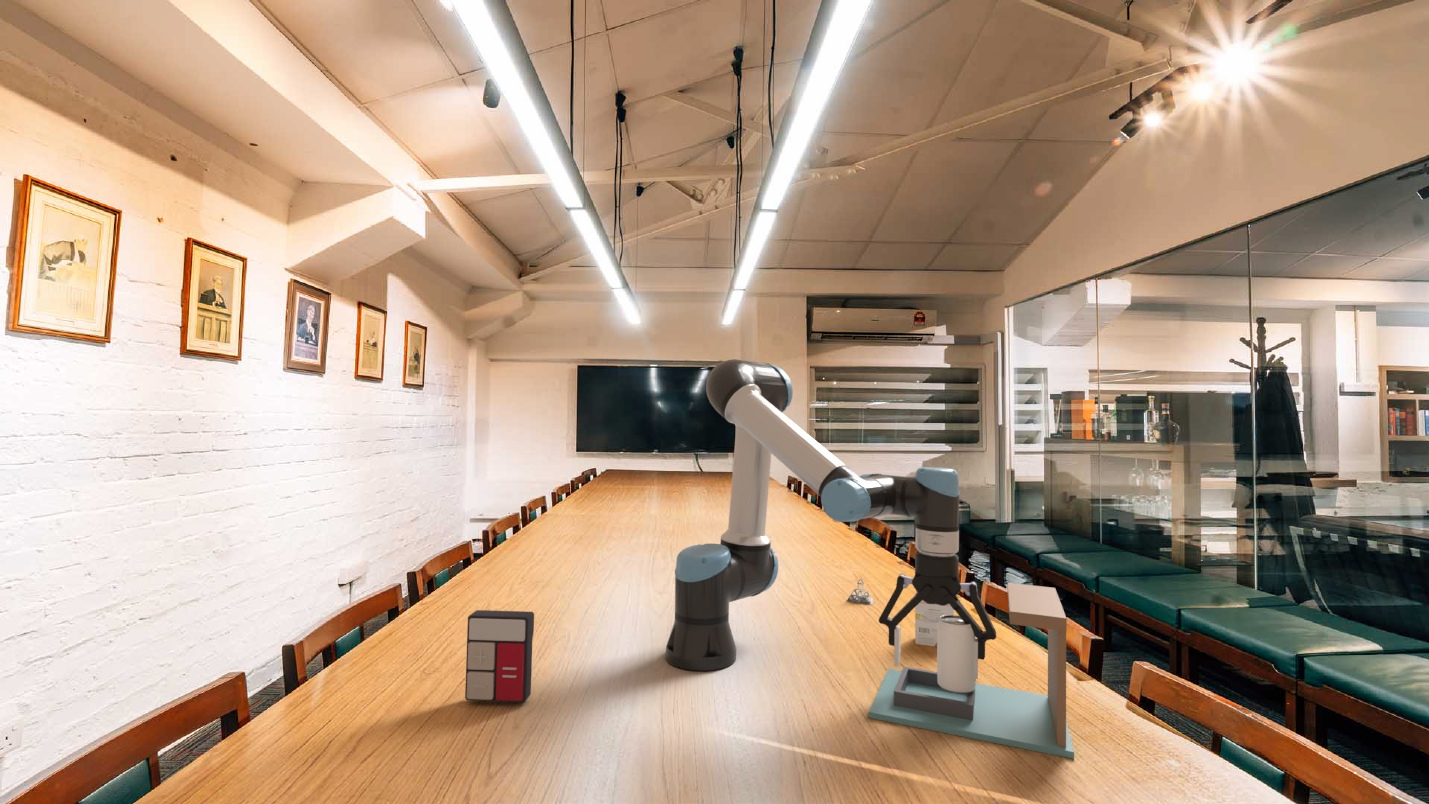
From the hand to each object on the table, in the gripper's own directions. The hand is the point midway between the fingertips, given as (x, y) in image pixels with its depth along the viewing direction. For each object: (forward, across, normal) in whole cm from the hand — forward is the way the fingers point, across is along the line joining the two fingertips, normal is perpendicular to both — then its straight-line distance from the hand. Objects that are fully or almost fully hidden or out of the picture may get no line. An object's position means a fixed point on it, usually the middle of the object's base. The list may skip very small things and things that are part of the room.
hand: (935, 670), depth 117 cm
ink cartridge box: (+6, -3, +34) cm, 35 cm away
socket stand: (+6, 0, 0) cm, 6 cm away
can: (+3, +4, 0) cm, 4 cm away
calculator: (+6, -72, -33) cm, 79 cm away
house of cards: (+7, -24, +62) cm, 67 cm away
